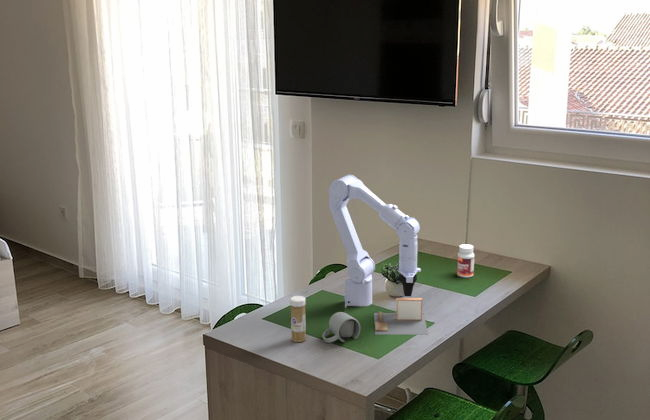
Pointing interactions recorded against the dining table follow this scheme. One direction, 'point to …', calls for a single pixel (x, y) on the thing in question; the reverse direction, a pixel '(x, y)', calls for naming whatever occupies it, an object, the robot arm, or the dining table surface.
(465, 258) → the pill bottle
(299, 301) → the sprinkles bottle
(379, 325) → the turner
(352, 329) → the ceramic mug
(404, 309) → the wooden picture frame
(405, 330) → the mat
